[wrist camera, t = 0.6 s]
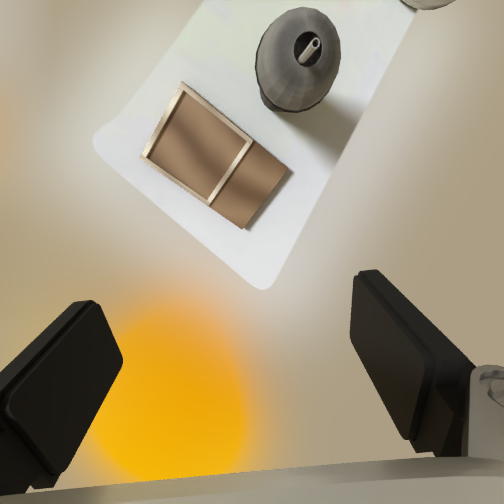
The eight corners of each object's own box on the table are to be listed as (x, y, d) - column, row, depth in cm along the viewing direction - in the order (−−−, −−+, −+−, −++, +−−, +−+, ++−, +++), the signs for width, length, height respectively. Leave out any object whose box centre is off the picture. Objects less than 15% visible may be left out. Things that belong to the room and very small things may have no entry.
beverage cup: (317, 81, 32) (421, -4, 14) (284, 134, 34) (336, 121, 16) (270, 42, 30) (318, -115, 12) (238, 101, 33) (239, 43, 14)
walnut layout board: (184, 83, 32) (181, 80, 30) (287, 168, 36) (289, 168, 35) (142, 157, 35) (138, 158, 33) (242, 227, 39) (242, 230, 38)
